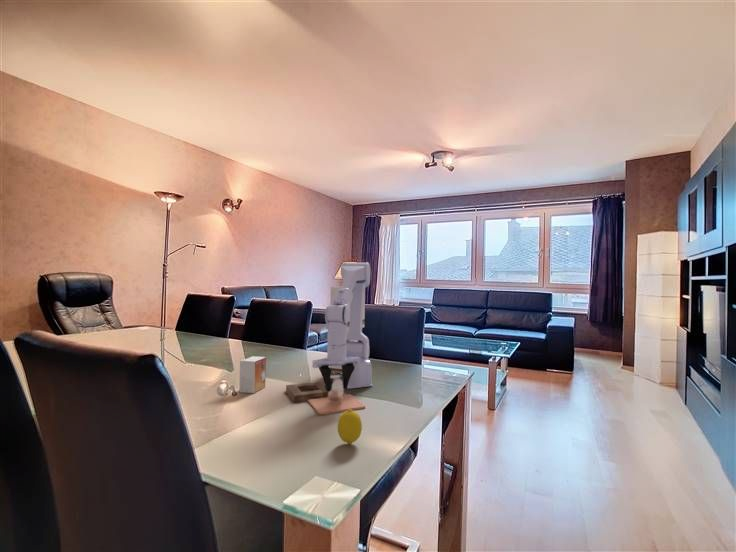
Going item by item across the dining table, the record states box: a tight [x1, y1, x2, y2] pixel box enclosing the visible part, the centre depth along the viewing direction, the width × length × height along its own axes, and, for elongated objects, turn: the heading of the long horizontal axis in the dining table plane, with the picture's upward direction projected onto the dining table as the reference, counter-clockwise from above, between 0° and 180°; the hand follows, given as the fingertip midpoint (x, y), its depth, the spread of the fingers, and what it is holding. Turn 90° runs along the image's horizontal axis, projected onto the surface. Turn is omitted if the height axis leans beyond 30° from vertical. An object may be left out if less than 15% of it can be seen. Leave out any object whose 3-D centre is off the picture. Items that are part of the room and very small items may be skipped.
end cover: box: [328, 374, 345, 401], centre depth 110 cm, size 5×5×6 cm
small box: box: [238, 355, 267, 394], centre depth 124 cm, size 8×6×10 cm
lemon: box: [337, 409, 363, 445], centre depth 83 cm, size 6×6×8 cm
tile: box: [307, 394, 366, 416], centre depth 109 cm, size 14×12×1 cm
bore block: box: [285, 381, 328, 403], centre depth 119 cm, size 12×12×2 cm
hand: (336, 389), depth 110 cm, fingers closed on end cover, 5 cm apart
